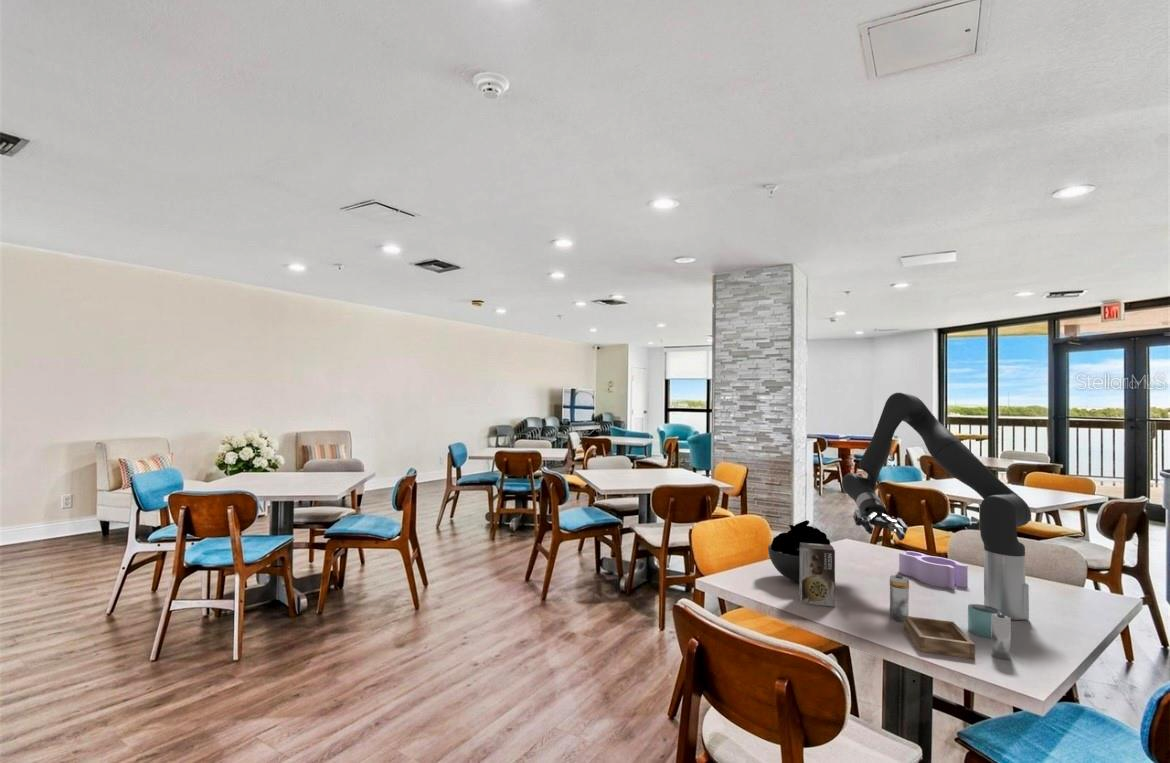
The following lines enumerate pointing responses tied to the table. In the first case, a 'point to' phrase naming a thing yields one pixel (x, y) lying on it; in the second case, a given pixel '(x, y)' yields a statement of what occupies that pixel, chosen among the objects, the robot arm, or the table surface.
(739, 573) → the table surface
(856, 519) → the robot arm
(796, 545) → the coal bowl
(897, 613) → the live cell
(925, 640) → the brown wooden tray
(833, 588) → the coffee box
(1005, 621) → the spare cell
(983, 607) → the cup
